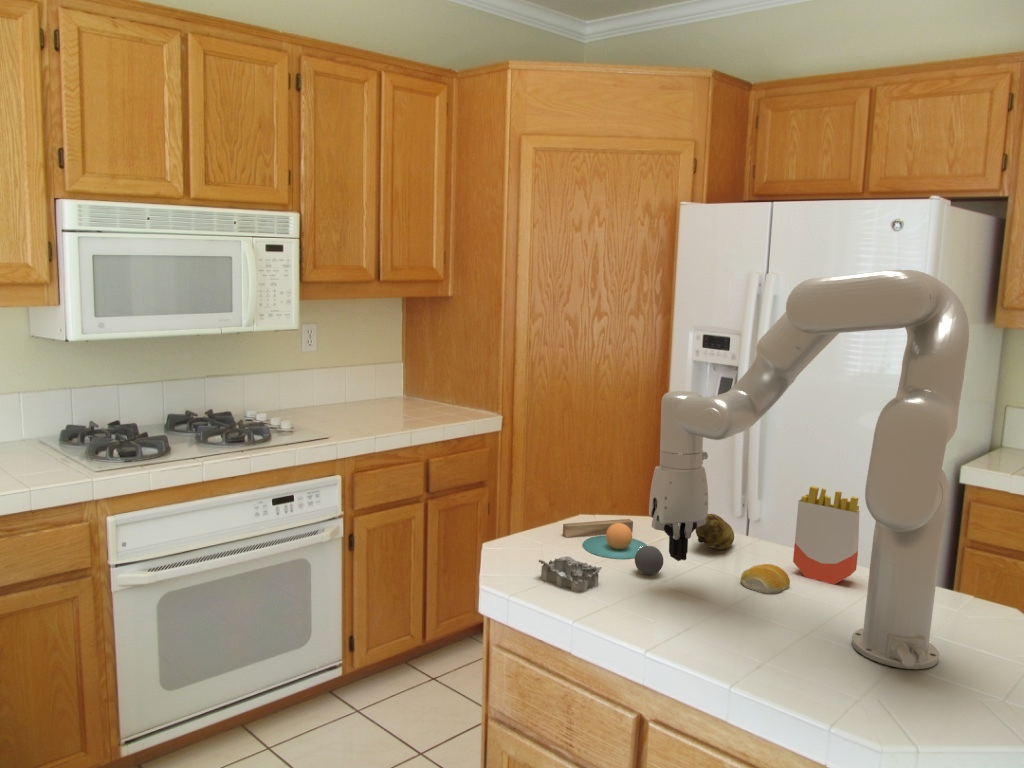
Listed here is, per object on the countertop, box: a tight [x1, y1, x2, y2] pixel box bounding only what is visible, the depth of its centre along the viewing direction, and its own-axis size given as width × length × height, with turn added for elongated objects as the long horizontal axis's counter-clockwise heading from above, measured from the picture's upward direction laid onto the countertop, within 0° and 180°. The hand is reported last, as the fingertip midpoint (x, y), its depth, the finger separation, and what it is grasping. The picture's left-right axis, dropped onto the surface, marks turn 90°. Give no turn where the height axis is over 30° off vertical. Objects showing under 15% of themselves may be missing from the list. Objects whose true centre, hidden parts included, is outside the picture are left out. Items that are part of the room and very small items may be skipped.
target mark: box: [582, 535, 648, 560], centre depth 177 cm, size 14×14×1 cm
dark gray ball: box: [634, 545, 664, 576], centre depth 162 cm, size 6×6×6 cm
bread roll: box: [740, 563, 791, 594], centre depth 159 cm, size 8×9×4 cm
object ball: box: [606, 523, 633, 550], centre depth 176 cm, size 6×6×6 cm
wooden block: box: [562, 518, 634, 539], centre depth 185 cm, size 2×16×2 cm, turn 109°
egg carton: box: [538, 555, 603, 593], centre depth 157 cm, size 11×8×4 cm
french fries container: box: [792, 485, 860, 585], centre depth 163 cm, size 5×11×18 cm, turn 53°
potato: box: [694, 513, 735, 550], centre depth 178 cm, size 8×13×8 cm, turn 130°
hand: (678, 558), depth 154 cm, fingers closed
